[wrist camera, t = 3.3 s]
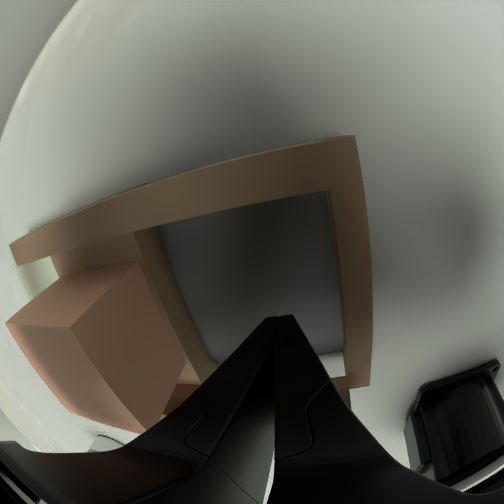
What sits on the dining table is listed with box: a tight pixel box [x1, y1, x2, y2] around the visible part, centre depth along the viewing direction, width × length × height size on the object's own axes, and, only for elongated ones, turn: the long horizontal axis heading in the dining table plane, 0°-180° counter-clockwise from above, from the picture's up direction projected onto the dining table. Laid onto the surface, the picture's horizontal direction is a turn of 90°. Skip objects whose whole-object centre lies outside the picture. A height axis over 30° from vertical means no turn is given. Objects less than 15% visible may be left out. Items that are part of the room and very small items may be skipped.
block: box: [5, 261, 186, 434], centre depth 9 cm, size 5×5×4 cm
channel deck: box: [6, 135, 372, 421], centre depth 10 cm, size 18×10×4 cm, turn 104°
